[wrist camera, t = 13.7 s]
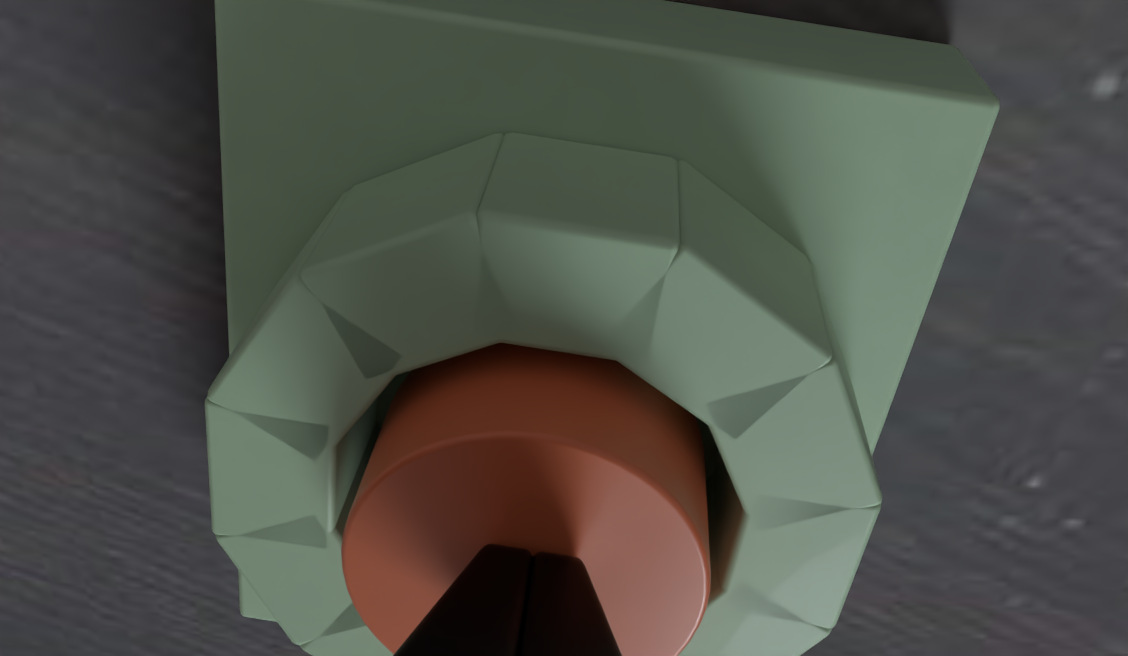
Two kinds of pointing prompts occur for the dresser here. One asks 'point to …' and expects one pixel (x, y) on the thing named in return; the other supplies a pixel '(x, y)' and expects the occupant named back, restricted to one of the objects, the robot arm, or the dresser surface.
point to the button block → (578, 262)
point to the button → (534, 491)
